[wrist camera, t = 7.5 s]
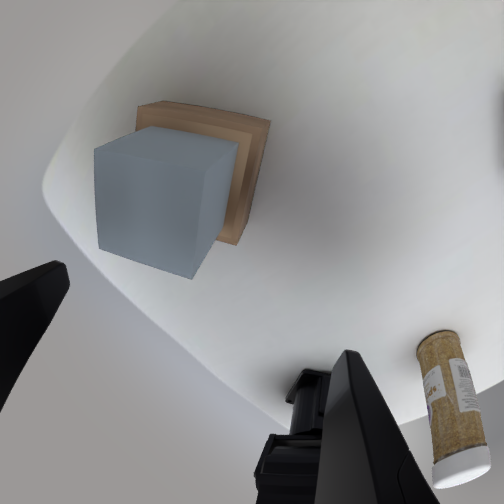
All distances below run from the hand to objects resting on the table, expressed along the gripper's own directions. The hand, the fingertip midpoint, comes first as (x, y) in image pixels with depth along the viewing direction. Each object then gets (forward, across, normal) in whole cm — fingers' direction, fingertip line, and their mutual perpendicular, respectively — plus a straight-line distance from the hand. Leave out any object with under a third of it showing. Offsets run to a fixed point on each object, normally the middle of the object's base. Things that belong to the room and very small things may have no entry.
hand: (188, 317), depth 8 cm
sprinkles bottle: (+13, -19, +10) cm, 25 cm away
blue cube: (+9, +4, 0) cm, 10 cm away
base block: (+12, +4, 0) cm, 13 cm away
